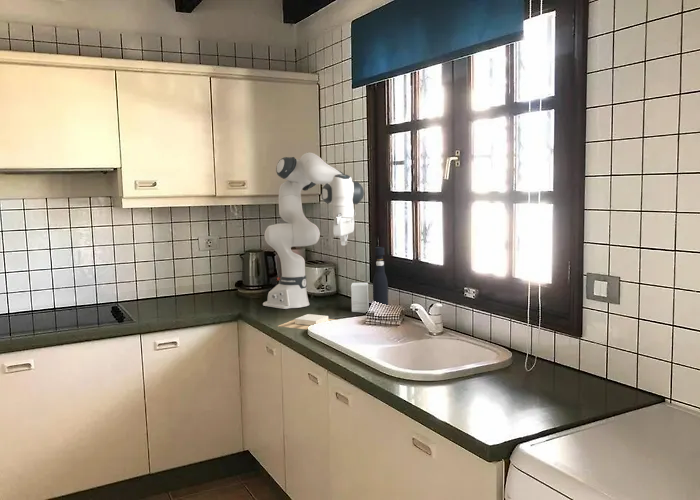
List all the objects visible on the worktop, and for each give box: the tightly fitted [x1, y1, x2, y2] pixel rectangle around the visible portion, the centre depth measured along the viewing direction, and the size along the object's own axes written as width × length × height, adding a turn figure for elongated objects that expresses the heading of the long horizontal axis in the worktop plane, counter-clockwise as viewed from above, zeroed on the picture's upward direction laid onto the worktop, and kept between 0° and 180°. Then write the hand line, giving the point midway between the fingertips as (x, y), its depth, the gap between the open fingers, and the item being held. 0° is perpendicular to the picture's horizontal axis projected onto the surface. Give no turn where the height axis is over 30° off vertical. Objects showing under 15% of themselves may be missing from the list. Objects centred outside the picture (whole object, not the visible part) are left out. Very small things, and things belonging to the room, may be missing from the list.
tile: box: [294, 313, 329, 326], centre depth 267 cm, size 10×2×10 cm
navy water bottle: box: [372, 246, 389, 306], centre depth 277 cm, size 6×6×30 cm
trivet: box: [278, 318, 337, 330], centre depth 266 cm, size 20×20×1 cm
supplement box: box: [350, 282, 370, 314], centre depth 290 cm, size 7×7×13 cm
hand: (344, 245), depth 277 cm, fingers closed
